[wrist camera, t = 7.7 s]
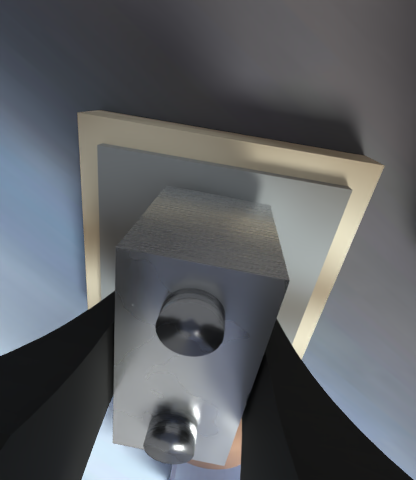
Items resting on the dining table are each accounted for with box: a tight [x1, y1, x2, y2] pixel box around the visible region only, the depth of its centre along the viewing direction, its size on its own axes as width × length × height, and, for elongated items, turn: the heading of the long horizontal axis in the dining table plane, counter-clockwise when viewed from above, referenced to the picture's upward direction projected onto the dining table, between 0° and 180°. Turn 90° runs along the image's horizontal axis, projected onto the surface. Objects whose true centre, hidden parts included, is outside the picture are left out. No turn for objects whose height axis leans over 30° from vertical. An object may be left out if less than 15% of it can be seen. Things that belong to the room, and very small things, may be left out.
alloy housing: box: [113, 186, 290, 466], centre depth 10 cm, size 8×4×6 cm, turn 171°
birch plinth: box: [77, 110, 384, 360], centre depth 15 cm, size 12×12×2 cm
